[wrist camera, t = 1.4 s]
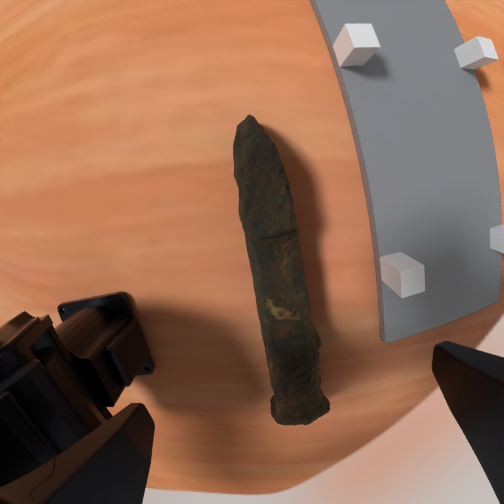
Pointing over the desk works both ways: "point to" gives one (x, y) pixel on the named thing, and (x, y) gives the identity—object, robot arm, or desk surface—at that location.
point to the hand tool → (278, 277)
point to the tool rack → (420, 157)
